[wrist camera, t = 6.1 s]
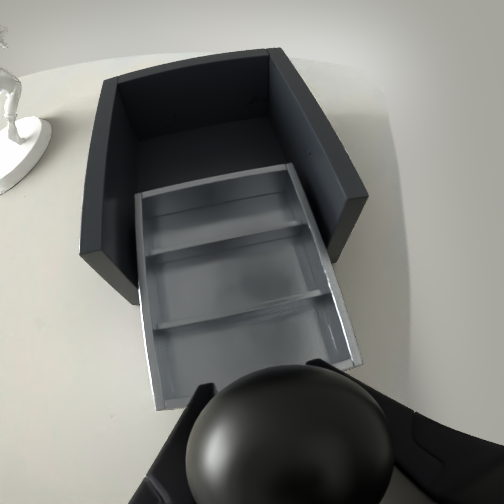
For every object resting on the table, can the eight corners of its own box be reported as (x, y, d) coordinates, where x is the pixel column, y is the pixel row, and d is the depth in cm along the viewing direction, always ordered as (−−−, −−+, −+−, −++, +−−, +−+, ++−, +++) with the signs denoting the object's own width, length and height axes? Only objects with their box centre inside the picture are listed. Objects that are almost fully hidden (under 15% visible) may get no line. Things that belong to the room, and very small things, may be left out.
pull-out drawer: (362, 423, 12) (571, 427, 2) (182, 464, 11) (20, 570, 1) (289, 188, 17) (311, -7, 8) (146, 217, 17) (65, 36, 7)
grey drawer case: (336, 262, 17) (369, 195, 11) (132, 305, 16) (78, 255, 10) (277, 116, 22) (281, 47, 17) (128, 145, 21) (103, 80, 16)
